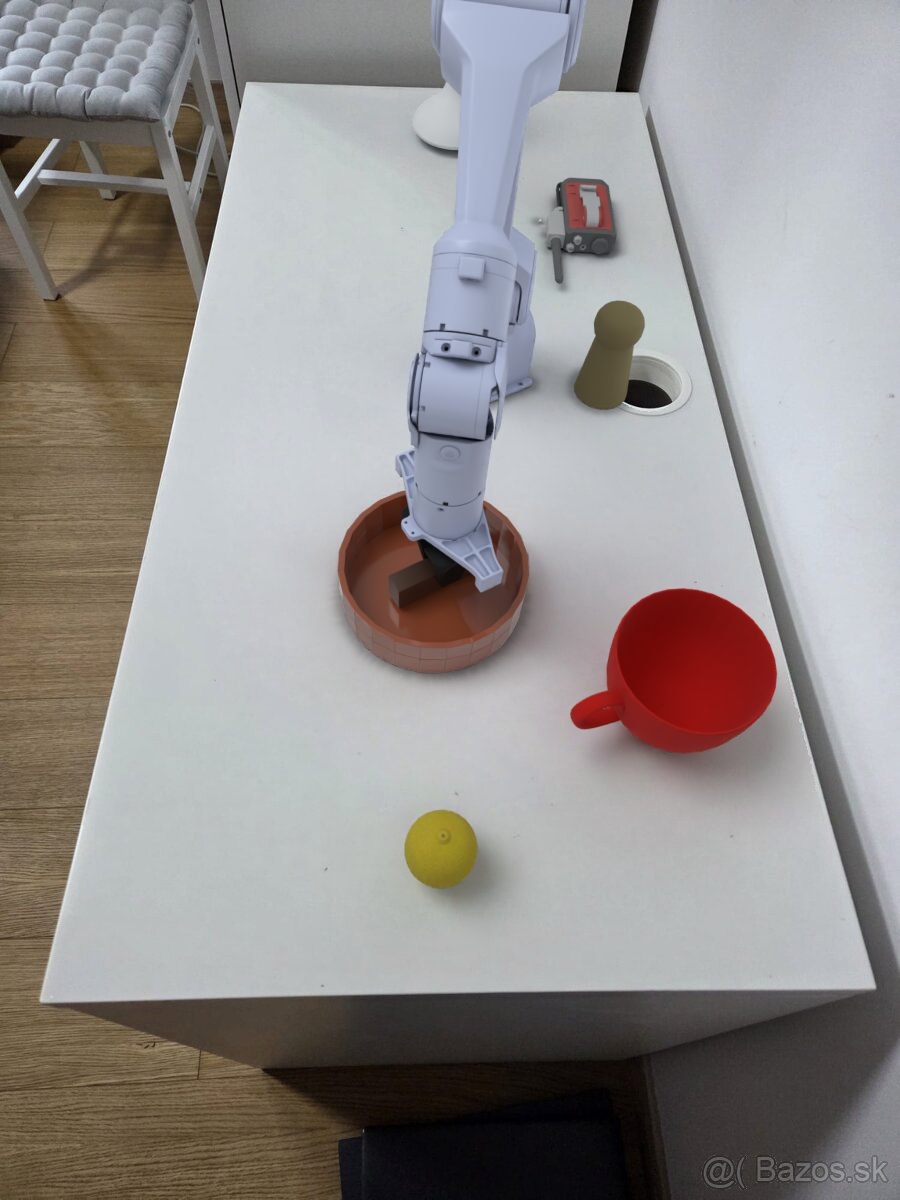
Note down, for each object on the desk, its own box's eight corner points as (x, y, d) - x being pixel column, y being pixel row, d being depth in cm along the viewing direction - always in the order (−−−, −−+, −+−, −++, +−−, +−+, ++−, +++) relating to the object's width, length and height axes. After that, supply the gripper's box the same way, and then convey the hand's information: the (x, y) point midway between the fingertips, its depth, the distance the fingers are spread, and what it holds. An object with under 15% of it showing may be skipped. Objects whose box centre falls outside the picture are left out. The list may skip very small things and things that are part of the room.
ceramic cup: (524, 685, 73) (541, 633, 64) (684, 624, 77) (720, 567, 68) (593, 818, 67) (621, 780, 58) (761, 744, 71) (811, 699, 62)
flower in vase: (463, 168, 112) (479, -48, 90) (396, 139, 114) (395, -78, 93) (512, 127, 118) (537, -86, 96) (446, 99, 120) (457, -113, 99)
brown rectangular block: (479, 549, 78) (482, 532, 76) (490, 565, 77) (493, 547, 75) (388, 592, 75) (388, 575, 73) (398, 608, 74) (398, 592, 72)
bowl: (463, 494, 83) (466, 462, 79) (556, 622, 76) (566, 595, 72) (310, 560, 78) (305, 530, 74) (395, 705, 71) (395, 681, 67)
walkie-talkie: (540, 192, 110) (548, 291, 100) (545, 161, 106) (554, 260, 96) (604, 196, 110) (619, 294, 100) (612, 164, 106) (627, 263, 96)
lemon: (402, 828, 66) (402, 799, 59) (469, 823, 66) (478, 794, 59) (405, 900, 63) (406, 878, 56) (476, 894, 63) (486, 872, 56)
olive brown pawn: (624, 414, 90) (650, 336, 81) (570, 404, 90) (590, 325, 81) (628, 376, 93) (654, 297, 84) (577, 366, 93) (597, 286, 84)
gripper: (362, 433, 65) (367, 530, 77) (453, 566, 59) (444, 649, 71) (437, 403, 67) (431, 502, 79) (533, 528, 61) (511, 615, 73)
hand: (442, 570), depth 75 cm, fingers closed on brown rectangular block, 2 cm apart
